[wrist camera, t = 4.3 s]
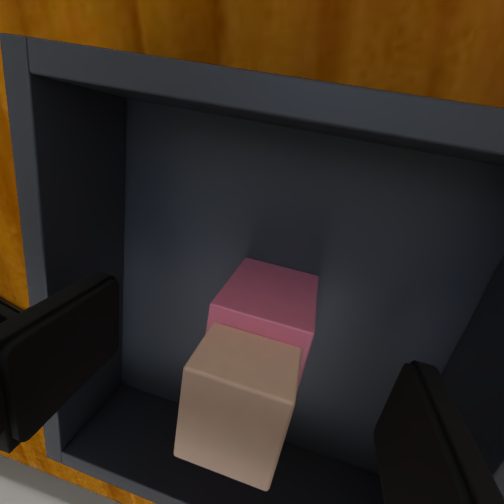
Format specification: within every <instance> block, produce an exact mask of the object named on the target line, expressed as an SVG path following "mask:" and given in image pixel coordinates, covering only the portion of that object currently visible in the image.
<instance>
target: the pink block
mask: <svg viewBox="0 0 504 504" xmlns="http://www.w3.org/2000/svg"><path fill="white" fill-rule="evenodd" d="M318 281H319V276H317V275H313V274H309V273H305V272H301V271H297V270H293V269H289V268H286V267H282V266H278V265H274V264H270V263H266V262H262V261H258V260H254V259H251V258H245V259H244V260H243V262H242V263H241V264H240V265H239V267H238V268H237V269H236V271H235V272H234V273H233V275H232V276H231V277H230V278H229V280H228V281H227V282H226V284H225V285H224V286H223V288H222V289H221V290H220V291H219V293H218V294H217V295H216V297H215V298H214V299H213V301H212V302H211V303H210V306H209V313H208V320H207V327H206V334H205V336H204V337H203V339H202V340H201V342H200V343H199V345H198V346H197V348H196V349H195V351H194V352H193V354H192V355H191V357H190V359H189V360H188V362H187V363H186V365H185V366H184V368H183V376H182V384H181V393H180V402H179V411H178V419H177V428H176V437H175V445H174V456H176V457H178V458H181V459H183V460H186V461H188V462H191V463H193V464H196V465H199V466H201V467H204V468H206V469H209V470H212V471H214V472H217V473H219V474H222V475H225V476H227V477H230V478H232V479H235V480H237V481H240V482H243V483H245V484H248V485H250V486H253V487H256V488H258V489H261V490H263V491H268V490H269V489H270V486H271V482H272V479H273V476H274V473H275V469H276V466H277V463H278V459H279V456H280V453H281V450H282V446H283V443H284V440H285V436H286V433H287V430H288V427H289V423H290V420H291V417H292V414H293V410H294V407H295V402H296V395H297V391H298V388H299V384H300V381H301V378H302V374H303V371H304V368H305V364H306V361H307V358H308V354H309V351H310V348H311V345H312V341H313V338H314V334H315V321H316V308H317V294H318Z"/></svg>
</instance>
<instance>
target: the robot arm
mask: <svg viewBox="0 0 504 504" xmlns="http://www.w3.org/2000/svg"><path fill="white" fill-rule="evenodd" d="M119 293H120V285H119V282H118V281H116V278H115V276H113V275H110V274H106V273H103V272H99V271H97V272H94V273H92V274H90V275H88V276H87V277H85V278H83V279H81V280H79V281H77V282H76V283H74V284H72V285H70V286H68V287H66V288H64V289H63V290H61V291H59V292H57V293H55V294H53V295H52V296H50V297H48V298H46V299H44V300H42V301H40V302H39V303H37V304H35V305H33V306H31V307H29V308H28V309H26V310H24V311H22V312H20V313H18V314H17V315H15V316H13V317H11V318H9V319H7V320H5V321H4V322H2V323H0V450H2V451H5V452H7V453H10V452H11V451H12V450H13V449H14V448H15V447H16V446H18V445H19V444H20V443H21V442H25V441H27V440H29V439H30V438H31V437H32V436H33V435H34V434H35V433H36V432H37V431H38V430H39V429H40V428H41V427H42V426H43V425H44V424H45V423H46V422H47V421H48V420H49V419H50V418H51V417H52V416H53V415H54V414H55V413H56V412H57V411H58V410H59V409H60V408H61V407H63V406H64V405H65V404H66V403H67V402H68V401H69V400H70V399H71V398H72V397H73V396H74V395H75V394H76V393H77V392H78V391H79V390H80V389H81V388H82V387H83V386H84V385H85V384H86V383H87V382H88V381H89V380H90V379H91V378H92V377H93V376H94V375H95V374H96V373H97V372H98V371H99V370H100V369H101V368H102V367H103V366H104V365H105V364H106V363H107V362H108V361H109V360H110V359H111V358H112V357H113V356H114V355H115V354H116V352H117V350H118V347H119ZM374 445H375V451H376V457H377V463H378V469H379V475H380V481H381V487H382V493H383V499H384V504H504V497H503V495H502V493H501V492H500V490H499V488H498V486H497V484H496V482H495V480H494V478H493V476H492V474H491V472H490V470H489V468H488V466H487V464H486V462H485V460H484V458H483V456H482V454H481V452H480V450H479V449H478V447H477V445H476V443H475V441H474V439H473V437H472V435H471V433H470V431H469V429H468V427H467V425H466V423H465V421H464V419H463V417H462V415H461V413H460V411H459V409H458V407H457V405H456V404H455V402H454V400H453V398H452V396H451V394H450V392H449V390H448V388H447V386H446V384H445V382H444V380H443V378H442V376H441V374H440V372H439V370H438V369H437V367H436V366H434V365H430V364H427V363H423V362H420V361H416V360H413V361H412V362H411V363H410V364H408V363H405V364H404V365H403V367H402V369H401V371H400V373H399V375H398V377H397V380H396V382H395V384H394V386H393V388H392V391H391V393H390V395H389V397H388V399H387V402H386V404H385V406H384V408H383V410H382V413H381V415H380V417H379V419H378V421H377V423H376V426H375V429H374ZM0 504H122V503H120V502H117V501H115V500H112V499H110V498H107V497H105V496H102V495H100V494H97V493H95V492H93V491H90V490H88V489H85V488H83V487H80V486H78V485H75V484H73V483H70V482H68V481H65V480H63V479H60V478H58V477H55V476H53V475H50V474H48V473H45V472H43V471H40V470H38V469H35V468H33V467H30V466H28V465H25V464H23V463H20V462H18V461H15V460H13V459H10V458H8V457H5V456H3V455H0Z"/></svg>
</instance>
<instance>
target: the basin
mask: <svg viewBox="0 0 504 504" xmlns="http://www.w3.org/2000/svg"><path fill="white" fill-rule="evenodd" d="M0 42H1V51H2V60H3V69H4V78H5V87H6V96H7V105H8V113H9V122H10V131H11V140H12V149H13V158H14V167H15V176H16V185H17V194H18V203H19V212H20V221H21V230H22V239H23V248H24V257H25V266H26V275H27V284H28V293H29V302H30V307H31V306H33V305H35V304H37V303H39V302H40V301H42V300H44V299H46V298H48V297H50V296H52V295H53V294H55V293H57V292H59V291H61V290H63V289H64V288H66V287H68V286H70V285H72V284H74V283H76V282H77V281H79V280H81V279H83V278H85V277H87V276H88V275H90V274H92V273H94V272H97V271H99V272H103V273H106V274H110V275H113V276H115V278H116V281H118V282H119V285H120V293H119V347H118V350H117V352H116V354H115V355H114V356H113V357H112V358H111V359H110V360H109V361H108V362H107V363H106V364H105V365H104V366H103V367H102V368H101V369H100V370H99V371H98V372H97V373H96V374H95V375H94V376H93V377H92V378H91V379H90V380H89V381H88V382H87V383H86V384H85V385H84V386H83V387H82V388H81V389H80V390H79V391H78V392H77V393H76V394H75V395H74V396H73V397H72V398H71V399H70V400H69V401H68V402H67V403H66V404H65V405H64V406H63V407H61V408H60V409H59V410H58V411H57V412H56V413H55V414H54V415H53V416H52V417H51V418H50V419H49V420H48V421H47V422H46V423H45V424H44V425H43V428H44V437H45V446H46V455H47V458H50V459H52V460H55V461H57V462H59V463H62V464H64V465H66V466H68V467H71V468H73V469H76V470H78V471H80V472H83V473H85V474H88V475H90V476H92V477H95V478H97V479H100V480H102V481H104V482H107V483H109V484H111V485H114V486H116V487H119V488H121V489H123V490H126V491H128V492H131V493H133V494H135V495H138V496H140V497H142V498H145V499H147V500H150V501H152V502H154V503H157V504H384V499H383V493H382V487H381V481H380V475H379V469H378V463H377V457H376V451H375V445H374V429H375V426H376V423H377V421H378V419H379V417H380V415H381V413H382V410H383V408H384V406H385V404H386V402H387V399H388V397H389V395H390V393H391V391H392V388H393V386H394V384H395V382H396V380H397V377H398V375H399V373H400V371H401V369H402V367H403V365H404V364H405V363H408V364H410V363H411V362H412V361H413V360H416V361H420V362H423V363H427V364H430V365H434V366H436V367H437V369H438V370H439V372H440V374H441V376H442V378H443V380H444V382H445V384H446V386H447V388H448V390H449V392H450V394H451V396H452V398H453V400H454V402H455V404H456V405H457V407H458V409H459V411H460V413H461V415H462V417H463V419H464V421H465V423H466V425H467V427H468V429H469V431H470V433H471V435H472V437H473V439H474V441H475V443H476V445H477V447H478V449H479V450H480V452H481V454H482V456H483V458H484V460H485V462H486V464H487V466H488V468H489V470H490V472H491V474H492V476H493V478H494V480H495V482H496V484H497V486H498V488H499V490H500V492H501V493H502V495H503V497H504V108H498V107H492V106H485V105H478V104H472V103H465V102H458V101H452V100H445V99H438V98H432V97H425V96H418V95H412V94H405V93H399V92H392V91H385V90H379V89H372V88H365V87H359V86H352V85H345V84H339V83H332V82H326V81H319V80H312V79H306V78H299V77H292V76H286V75H279V74H272V73H266V72H259V71H253V70H246V69H239V68H233V67H226V66H219V65H213V64H206V63H199V62H193V61H186V60H180V59H173V58H166V57H160V56H153V55H146V54H140V53H133V52H126V51H120V50H113V49H107V48H100V47H93V46H87V45H80V44H73V43H67V42H60V41H53V40H47V39H40V38H33V37H26V36H20V35H14V34H7V33H0ZM245 258H251V259H254V260H258V261H262V262H266V263H270V264H274V265H278V266H282V267H286V268H289V269H293V270H297V271H301V272H305V273H309V274H313V275H317V276H319V281H318V294H317V308H316V321H315V334H314V338H313V341H312V345H311V348H310V351H309V354H308V358H307V361H306V364H305V368H304V371H303V374H302V378H301V381H300V384H299V388H298V391H297V395H296V402H295V407H294V410H293V414H292V417H291V420H290V423H289V427H288V430H287V433H286V436H285V440H284V443H283V446H282V450H281V453H280V456H279V459H278V463H277V466H276V469H275V473H274V476H273V479H272V482H271V486H270V489H269V490H268V491H263V490H261V489H258V488H256V487H253V486H250V485H248V484H245V483H243V482H240V481H237V480H235V479H232V478H230V477H227V476H225V475H222V474H219V473H217V472H214V471H212V470H209V469H206V468H204V467H201V466H199V465H196V464H193V463H191V462H188V461H186V460H183V459H181V458H178V457H176V456H174V445H175V437H176V428H177V419H178V411H179V402H180V393H181V384H182V376H183V368H184V366H185V365H186V363H187V362H188V360H189V359H190V357H191V355H192V354H193V352H194V351H195V349H196V348H197V346H198V345H199V343H200V342H201V340H202V339H203V337H204V336H205V334H206V327H207V320H208V313H209V306H210V303H211V302H212V301H213V299H214V298H215V297H216V295H217V294H218V293H219V291H220V290H221V289H222V288H223V286H224V285H225V284H226V282H227V281H228V280H229V278H230V277H231V276H232V275H233V273H234V272H235V271H236V269H237V268H238V267H239V265H240V264H241V263H242V262H243V260H244V259H245Z"/></svg>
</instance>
